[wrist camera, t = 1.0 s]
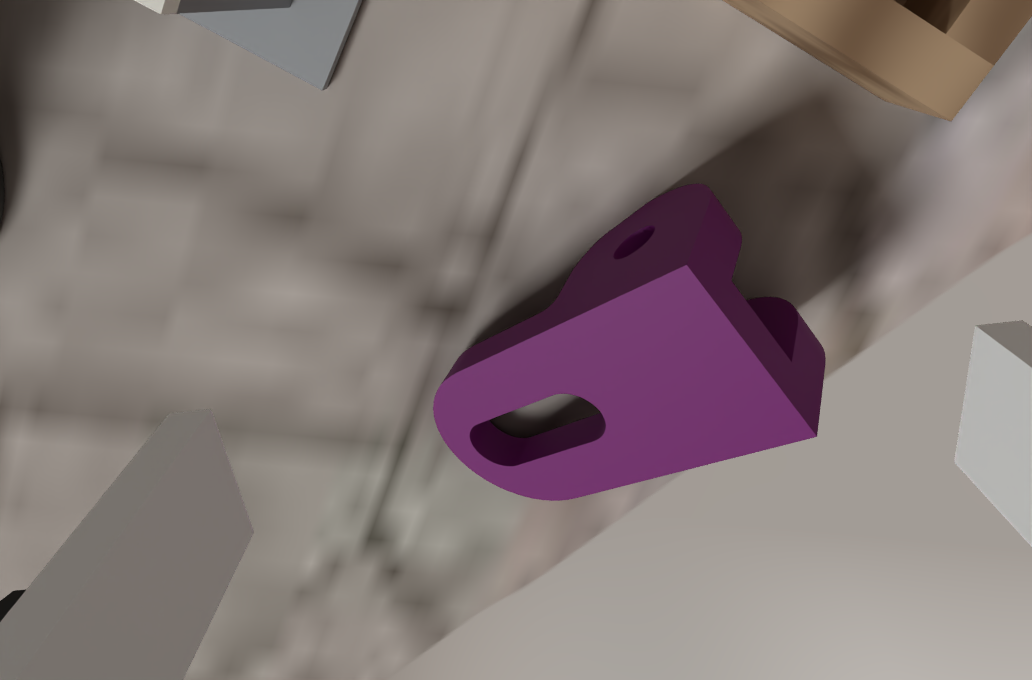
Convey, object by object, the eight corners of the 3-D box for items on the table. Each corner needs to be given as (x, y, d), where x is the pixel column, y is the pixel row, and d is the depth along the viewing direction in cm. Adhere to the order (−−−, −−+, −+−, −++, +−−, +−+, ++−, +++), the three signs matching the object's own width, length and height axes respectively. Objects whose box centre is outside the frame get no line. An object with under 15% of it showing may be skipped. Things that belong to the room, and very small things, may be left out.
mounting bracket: (561, 410, 48) (831, 312, 36) (513, 513, 42) (817, 437, 30) (465, 303, 45) (725, 158, 33) (399, 398, 39) (687, 264, 27)
